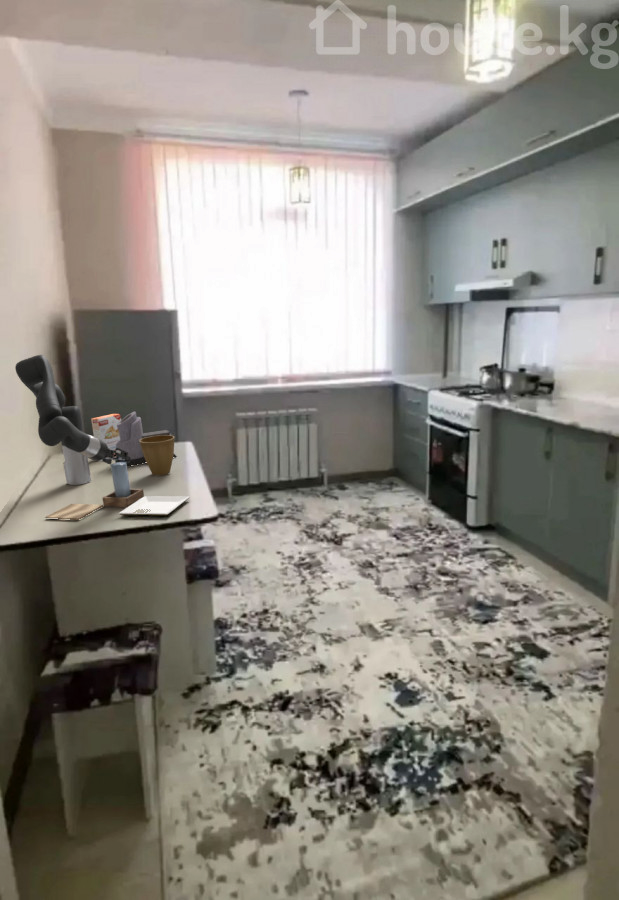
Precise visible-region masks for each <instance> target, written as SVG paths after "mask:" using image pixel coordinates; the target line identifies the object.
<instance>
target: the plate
mask: <svg viewBox="0 0 619 900" xmlns="http://www.w3.org/2000/svg"><path fill="white" fill-rule="evenodd" d="M190 498H191V496H189V495H144V497H143V498H141V499H140V500H138V501H136V502H135V503H133V504H132V505H130V506H129V507H125V508H124V509H122V511H120V512H118V514H119V515H121V516H130V515H149V516H148V517H150V516H151V517H152V516H153V517H165V516H168V515H169V514H170V513H172V512H173V511H174V510H176V509H177V508H178V507H180V506H181V505H183V504H184V503H185V502H186V501H187V500H189V499H190ZM138 509H140V510H141V509H143V510H144V509H145V510H146V509H148V510H149V509H150V510H151V511H150V510H149V511H150V512H149V511H148V512H147V513H145V512H146V511H147V510H146V511H145V510H144V511H145V512H144V513H137V512H136V513H133V512H135V511H136V510H138Z"/></svg>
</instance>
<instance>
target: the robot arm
mask: <svg viewBox="0 0 619 900" xmlns="http://www.w3.org/2000/svg"><path fill="white" fill-rule="evenodd" d="M15 373H16V374H17V377H18V379H20V382H22V384H23V385H24V386H25V387H27V389H28V390H30V391H31V392H32V394H33V395H34V396H35V406H36V410H37V414H38V426H37V427H38V428H37V431H38V437H39V439H40V441H41V442H42V443H43V444H45V446H48V447H54V446H57V445H59V444H60V443H61V447H62V452H63V459H64V462H63V463H62V464H63V465H62V466H63V470H64V475H65V481H66V484H67V485H68V484H69V485H71V486H76V485H83V484H87V483H89V482H91V481H92V476H91V470H90V469H91V468H90V463H89V459H90V460H92V461H94V462H97V463H98V462H101V463H106V464H107V465H111V464H112V462H113V461H115V460H117V459H119V460H123V461H125V462H127V463H130V460H131V458H130V457H129V456H128V452H126V451H123V450H121V449H119V448H116V450H113V449H111V448H108V446H107V444H106V443H105V442H103V441H101V440H99V439H97V438H95V437H94V435H90V434H87V433H85V432H84V427H83V418H82V417H83V416H82V411H81V409H80V406H77V405H72V406H71V405H70V406H65V404H66V396H65V393H63V390H62V388H61V387H60V386H59V385H58V384H57V383H55V381H56V380H55V376H54V371H53V368H52V366H51V363H50V361H49V360H48V359H47V357H46V356H45V355H43V354H38V355H35V356H31V357H28V358H25V359H22V360H20V361H18V362H16V364H15ZM114 454H115V455H116V456H114ZM120 457H121V458H120Z"/></svg>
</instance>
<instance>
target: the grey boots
mask: <svg viewBox="0 0 619 900" xmlns="http://www.w3.org/2000/svg"><path fill="white" fill-rule="evenodd" d="M117 428H118V430H119V436H120V440H119V441H118V442H117V443H116V448H119V449H121V450H123V451H126V452H128V456H129V457H130V458H131V460H130V463H127V462H126V465H127V466H130V467H132V466H131V465H137V464H142V463H145V462H146V460H145V457H144V455H143V452H142V449H141V445H140V441H139V440H140V439H142V438H146V437H151V436H158V435H171V436H173V434H172V433H171V432H170V431H169V430H167V429H164V430H163V429H162V430H156V431H150V432H144V431H143V424H142V418H141V417H140V416H137V412H136V411H132V412H131V413H129V414H127V415H125V417H123V418H121V421H120V422H119V423H118V424H117ZM173 457H178V456H177V455H176V454H175V453H174V454H173ZM120 458H121V457H120ZM114 461H115V462H114V463H118V462H125V461H123V460H119V459H117V460H114ZM145 464H146V463H145ZM142 465H143V464H142ZM137 466H138V465H137Z"/></svg>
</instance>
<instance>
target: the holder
mask: <svg viewBox="0 0 619 900" xmlns="http://www.w3.org/2000/svg"><path fill="white" fill-rule="evenodd" d="M130 491H131V495H130V496H129V497H127V498H124V497H116V496H115V490H114V491H113V492H110V493H109V494H107V495H105V496H103V497H102V505H103V507H104V506H114V507H113V508H127V507H129V506H130V505H132V504H133V503H135V502H136V501H138V500H140V499H141V498H143V497H144V496H145V492H144V489H143V488H140V489H138V488H130ZM115 506H116V507H115ZM117 506H118V507H117Z"/></svg>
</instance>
